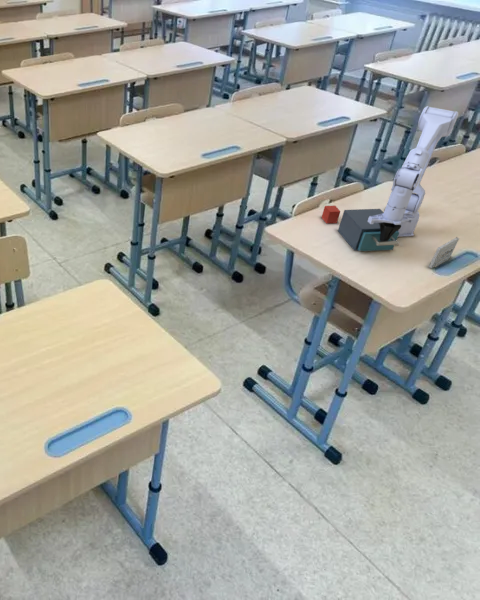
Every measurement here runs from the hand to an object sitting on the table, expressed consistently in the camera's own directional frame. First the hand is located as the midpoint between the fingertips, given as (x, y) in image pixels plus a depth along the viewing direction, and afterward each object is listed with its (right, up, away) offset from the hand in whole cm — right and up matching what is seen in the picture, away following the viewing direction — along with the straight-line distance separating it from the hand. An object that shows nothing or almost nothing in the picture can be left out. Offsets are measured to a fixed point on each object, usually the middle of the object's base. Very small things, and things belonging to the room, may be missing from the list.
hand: (383, 241), depth 184 cm
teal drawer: (0, 0, +7) cm, 7 cm away
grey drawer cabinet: (-1, +2, +12) cm, 12 cm away
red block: (-8, +10, +23) cm, 26 cm away
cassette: (+19, -7, 0) cm, 20 cm away
